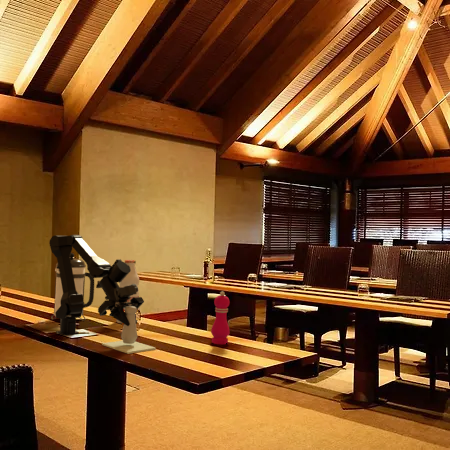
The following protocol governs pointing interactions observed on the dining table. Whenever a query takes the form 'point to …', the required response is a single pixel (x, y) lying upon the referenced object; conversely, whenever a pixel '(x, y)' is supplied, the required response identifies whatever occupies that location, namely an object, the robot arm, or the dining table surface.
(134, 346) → the sage mat
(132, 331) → the salt shaker
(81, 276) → the coffee press
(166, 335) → the dining table surface
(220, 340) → the pepper mill
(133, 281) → the fruit juice
